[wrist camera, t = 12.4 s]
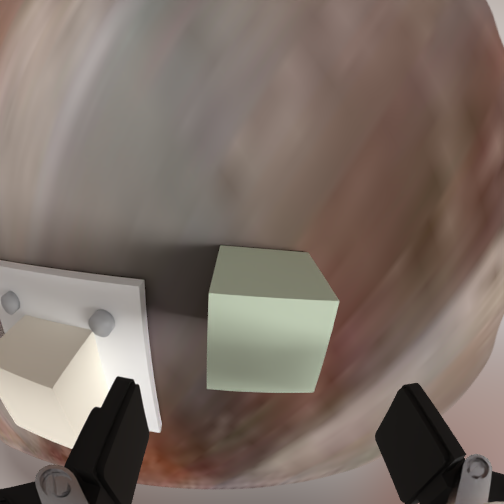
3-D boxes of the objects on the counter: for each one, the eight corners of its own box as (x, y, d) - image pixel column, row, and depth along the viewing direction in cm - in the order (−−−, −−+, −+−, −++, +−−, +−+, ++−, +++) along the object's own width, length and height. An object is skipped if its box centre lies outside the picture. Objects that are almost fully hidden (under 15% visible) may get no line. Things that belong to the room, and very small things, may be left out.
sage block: (220, 245, 16) (208, 292, 11) (308, 252, 17) (339, 300, 11) (216, 321, 18) (206, 388, 12) (294, 326, 18) (313, 392, 12)
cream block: (25, 314, 16) (-20, 358, 11) (93, 330, 17) (52, 388, 11) (47, 378, 18) (16, 424, 13) (110, 396, 19) (85, 453, 13)
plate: (-7, 259, 16) (-20, 266, 14) (144, 279, 17) (134, 292, 15) (35, 389, 20) (27, 400, 19) (161, 424, 21) (158, 439, 19)
